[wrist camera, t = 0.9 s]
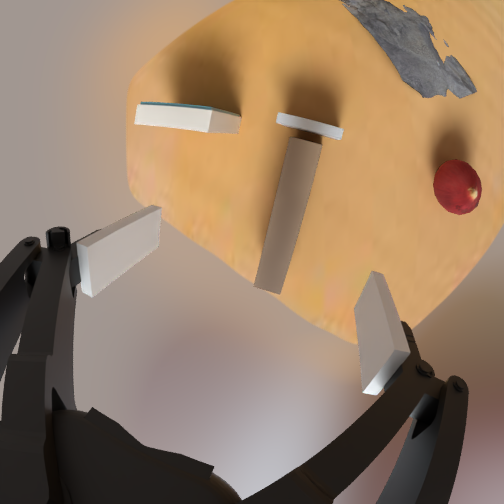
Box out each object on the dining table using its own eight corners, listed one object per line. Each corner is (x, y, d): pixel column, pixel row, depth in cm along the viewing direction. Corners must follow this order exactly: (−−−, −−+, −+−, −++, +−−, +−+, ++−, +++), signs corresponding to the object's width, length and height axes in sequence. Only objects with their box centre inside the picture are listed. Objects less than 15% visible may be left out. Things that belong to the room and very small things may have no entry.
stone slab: (480, 89, 18) (428, 116, 22) (473, 92, 20) (422, 118, 23) (391, -25, 15) (331, -7, 18) (388, -19, 17) (330, 0, 20)
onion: (469, 188, 24) (504, 204, 17) (439, 214, 27) (468, 237, 20) (447, 148, 23) (481, 153, 16) (415, 175, 26) (443, 187, 19)
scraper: (339, 131, 26) (343, 129, 21) (298, 273, 34) (293, 298, 29) (286, 117, 27) (278, 112, 22) (253, 259, 35) (240, 282, 30)
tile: (242, 115, 28) (212, 106, 20) (238, 133, 29) (207, 132, 21) (181, 107, 29) (138, 101, 21) (178, 124, 30) (134, 124, 22)
